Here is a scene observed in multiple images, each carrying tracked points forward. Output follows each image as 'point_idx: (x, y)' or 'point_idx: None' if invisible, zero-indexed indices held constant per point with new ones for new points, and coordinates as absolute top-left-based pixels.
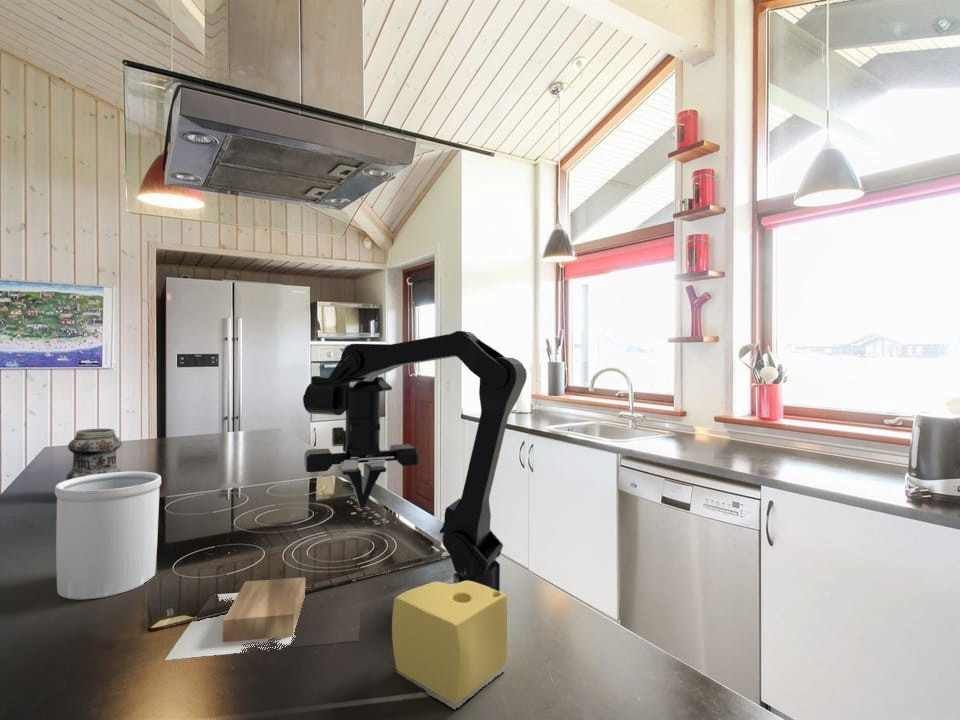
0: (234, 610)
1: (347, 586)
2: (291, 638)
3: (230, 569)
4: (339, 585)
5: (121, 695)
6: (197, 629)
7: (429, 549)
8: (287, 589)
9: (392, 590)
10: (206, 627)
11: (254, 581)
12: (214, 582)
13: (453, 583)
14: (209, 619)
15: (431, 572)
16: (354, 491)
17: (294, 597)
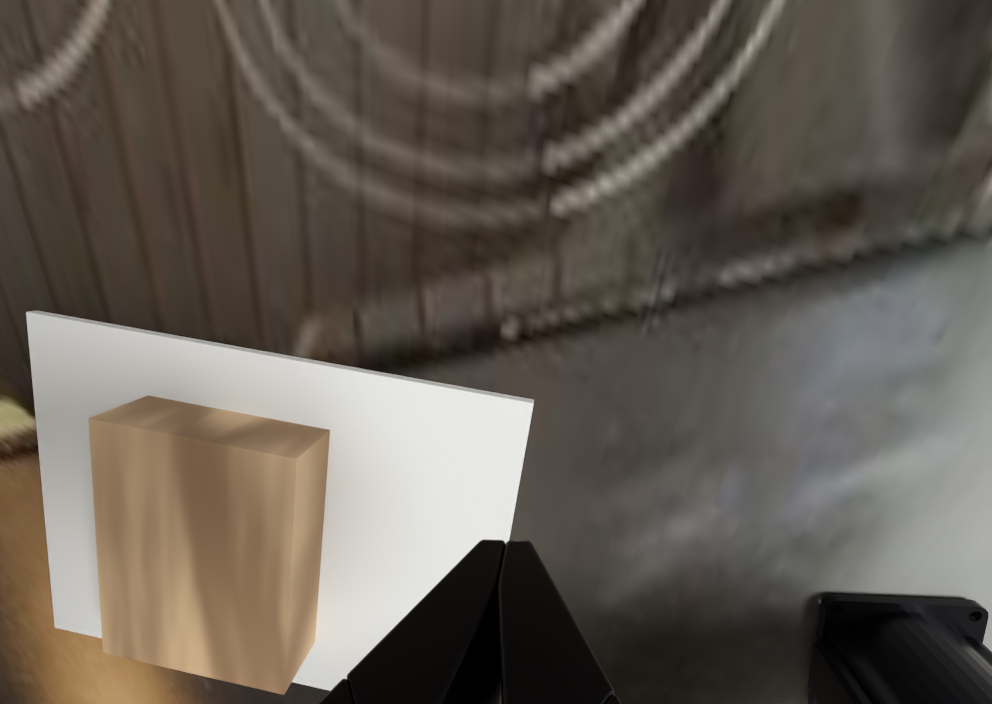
0: (116, 612)
1: (478, 378)
2: (311, 650)
3: (19, 46)
4: (450, 359)
5: (33, 688)
6: (72, 521)
7: (966, 69)
8: (245, 534)
9: (632, 467)
10: (91, 520)
11: (119, 429)
12: (5, 173)
13: (845, 691)
14: (83, 479)
15: (841, 367)
16: (385, 645)
17: (274, 599)
